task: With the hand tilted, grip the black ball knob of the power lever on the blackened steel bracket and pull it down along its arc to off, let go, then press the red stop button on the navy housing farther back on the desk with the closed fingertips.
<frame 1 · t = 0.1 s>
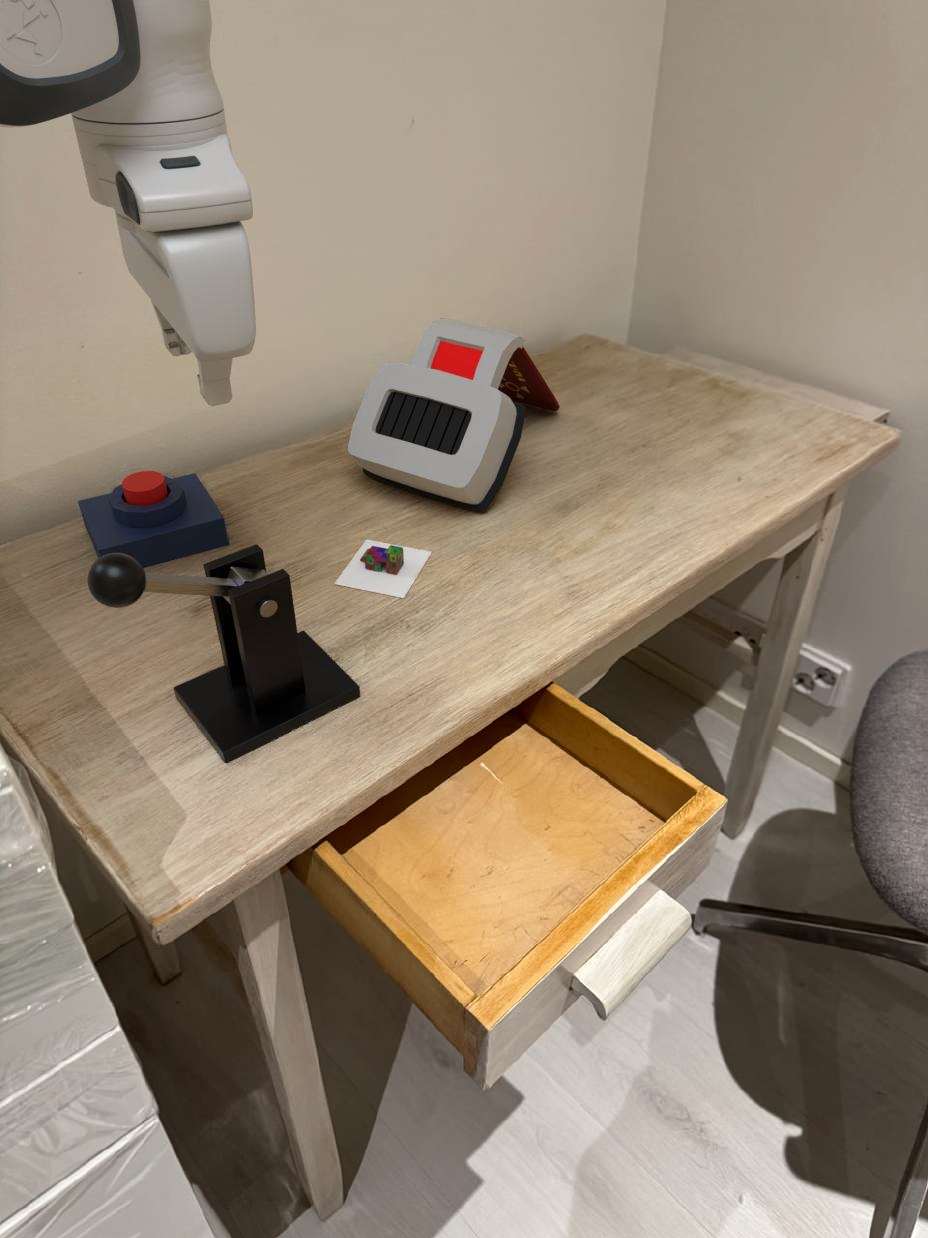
hand: (197, 375, 64), 24 cm above the table, tool pointing down, fingers open, 8 cm apart
power lever: (184, 584, 62), point 13 cm above the table, hinge at 28.0°
switch bracket: (268, 697, 72), on the table
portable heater: (472, 454, 105), on the table
multicoloured block: (384, 569, 87), on the table
stop button: (144, 488, 87), point 6 cm above the table, slide at 0.2 cm
stop box: (156, 535, 91), on the table
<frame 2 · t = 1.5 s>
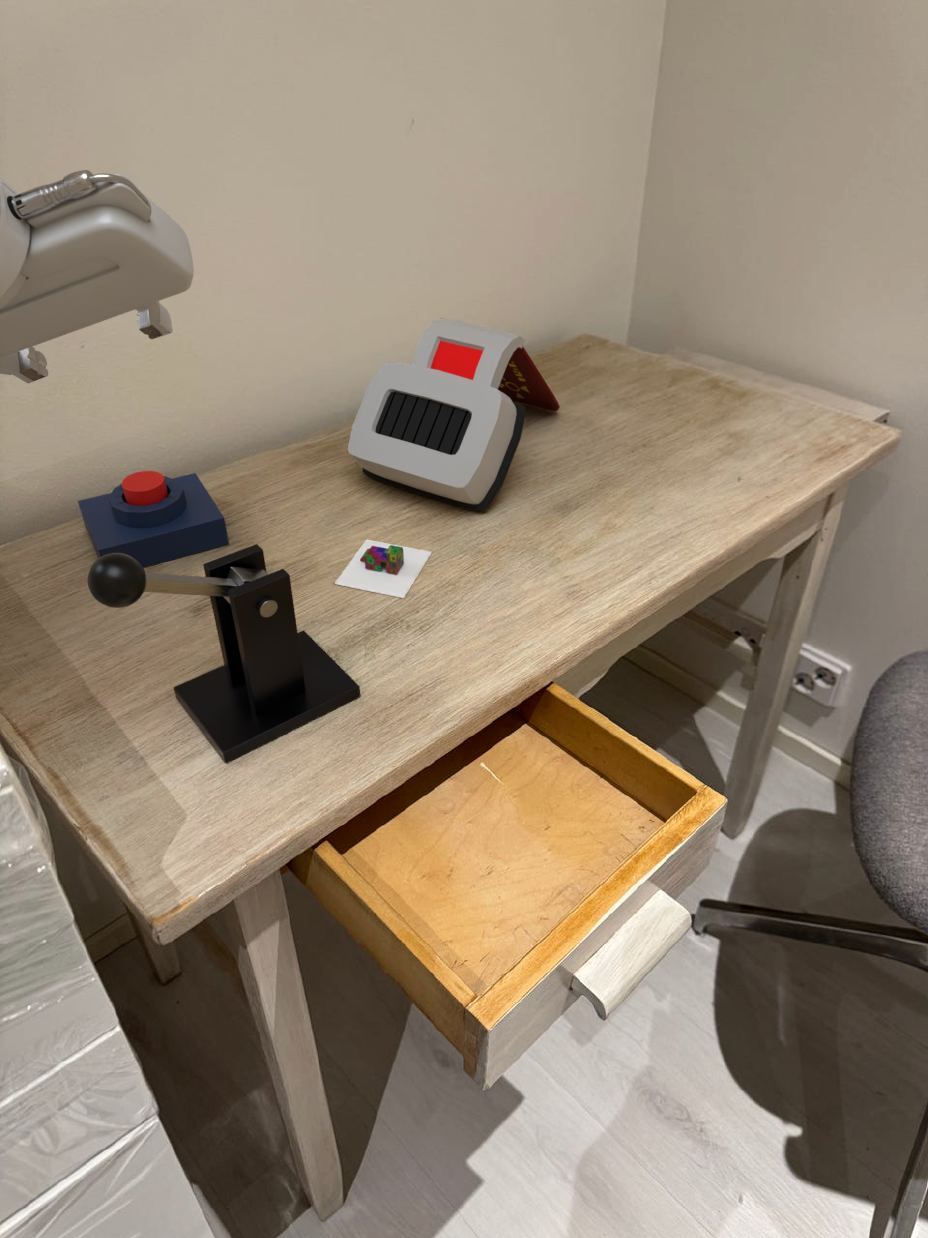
hand: (99, 348, 60), 27 cm above the table, tool tilted 45°, fingers open, 8 cm apart
nothing on the table moved.
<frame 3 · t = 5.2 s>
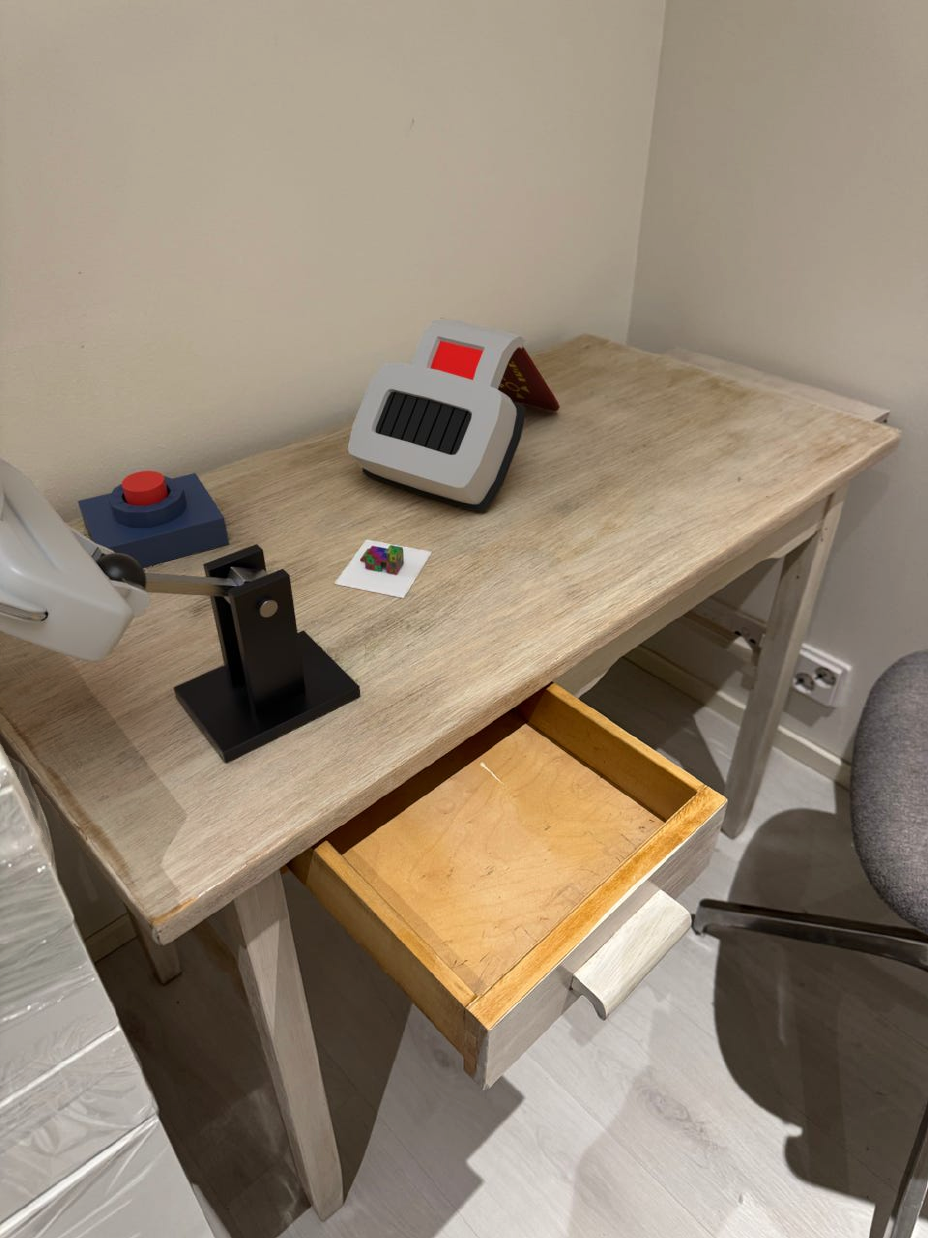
hand: (128, 584, 59), 15 cm above the table, tool tilted 45°, fingers closed on power lever, 3 cm apart
power lever: (184, 584, 62), point 13 cm above the table, hinge at 28.0°, touching gripper
everything else where it was.
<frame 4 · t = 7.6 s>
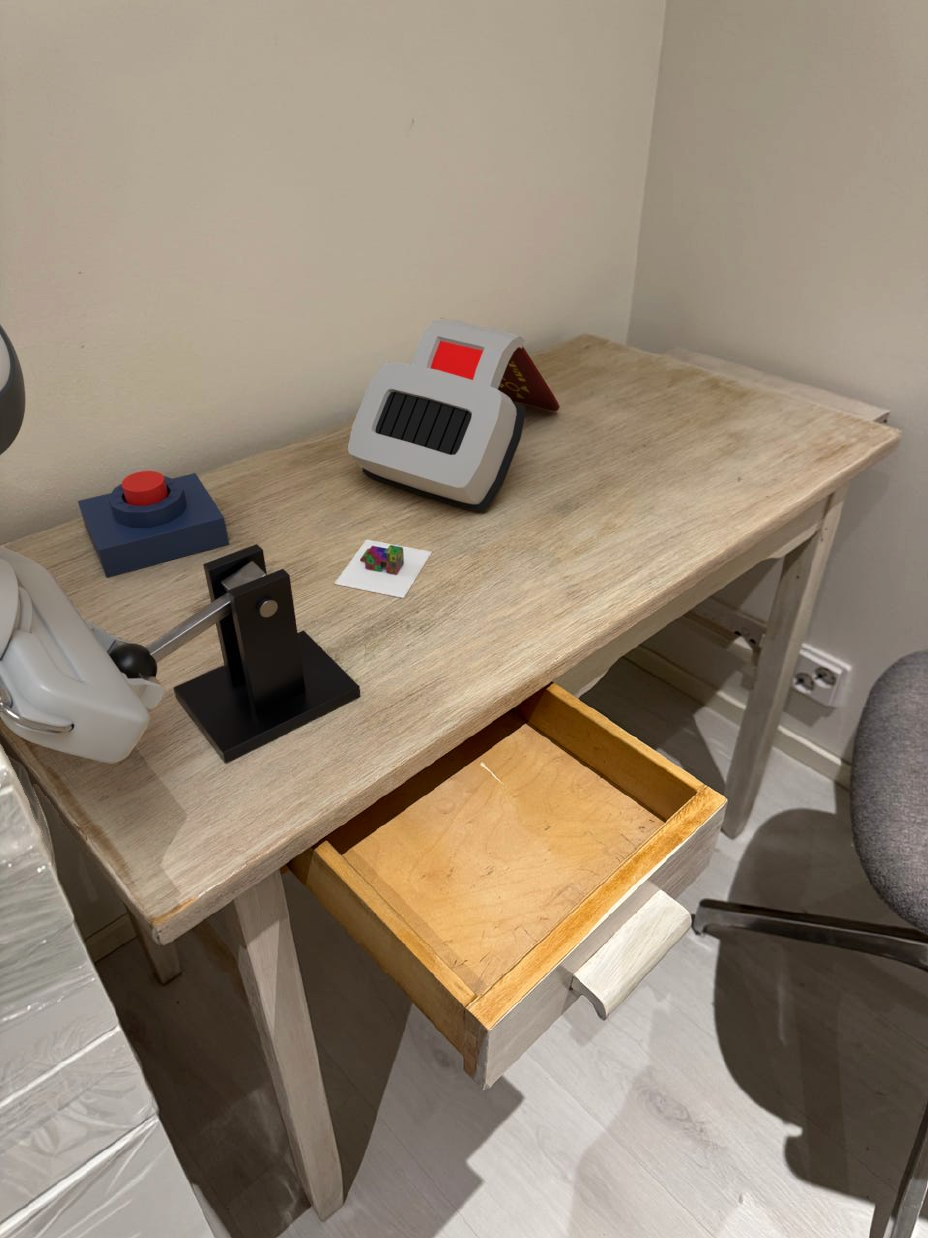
hand: (143, 675, 64), 7 cm above the table, tool tilted 45°, fingers closed on power lever, 3 cm apart
power lever: (188, 629, 64), point 10 cm above the table, hinge at -15.3°, touching gripper
everything else where it was.
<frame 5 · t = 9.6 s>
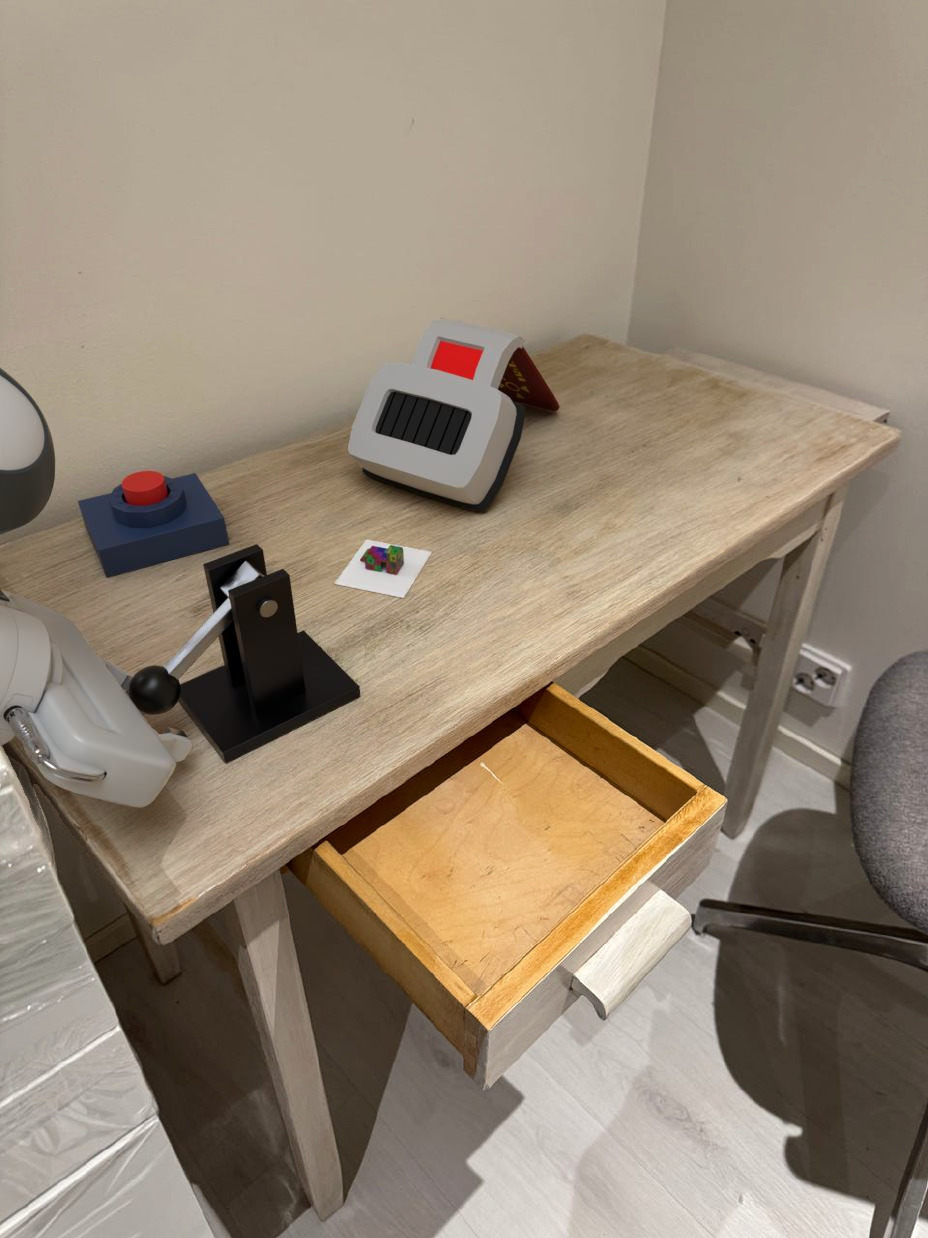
hand: (162, 718, 67), 3 cm above the table, tool tilted 45°, fingers open, 6 cm apart
power lever: (200, 641, 65), point 8 cm above the table, hinge at -32.5°
everything else where it was.
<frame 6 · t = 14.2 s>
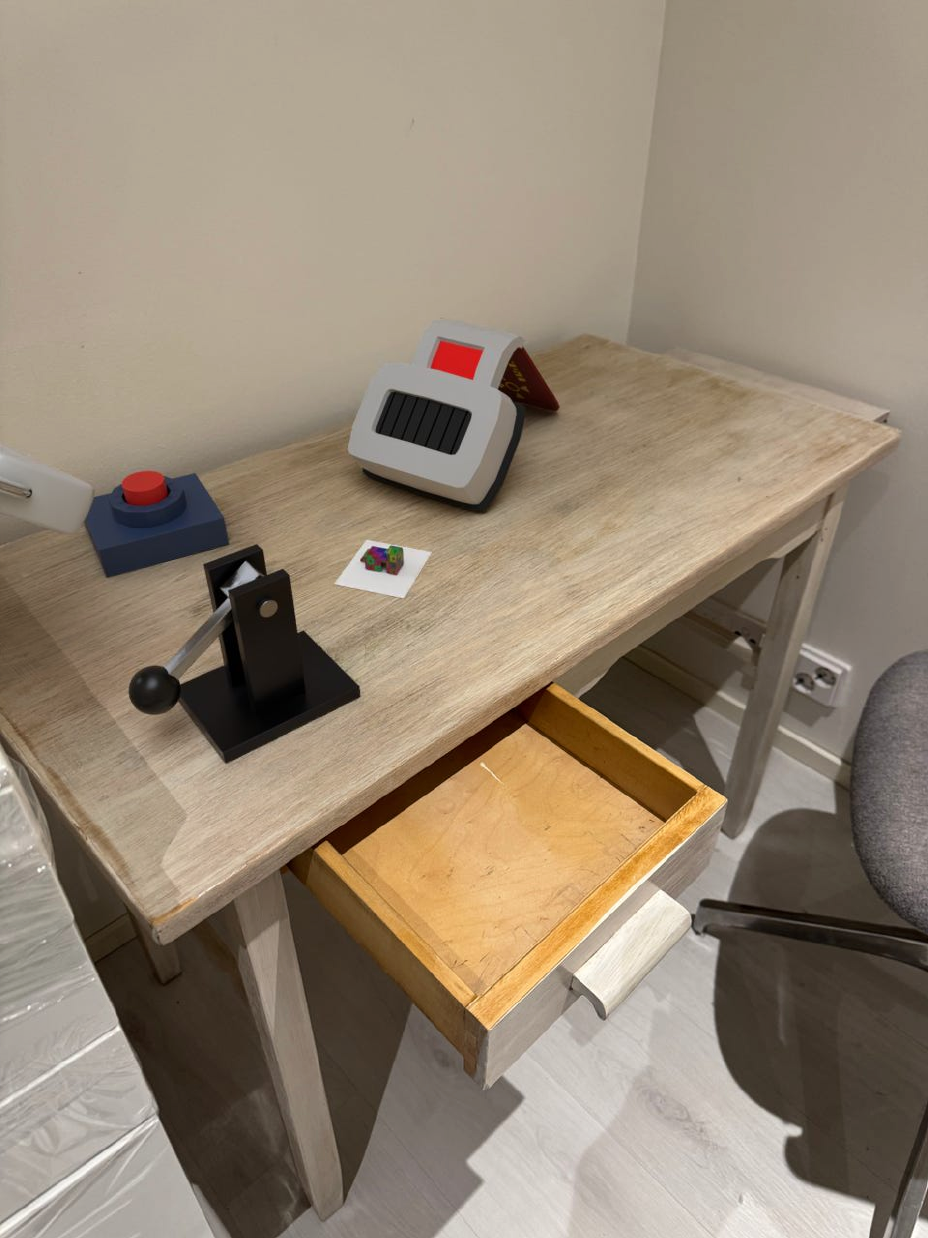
hand: (58, 489, 67), 16 cm above the table, tool tilted 45°, fingers closed
nothing on the table moved.
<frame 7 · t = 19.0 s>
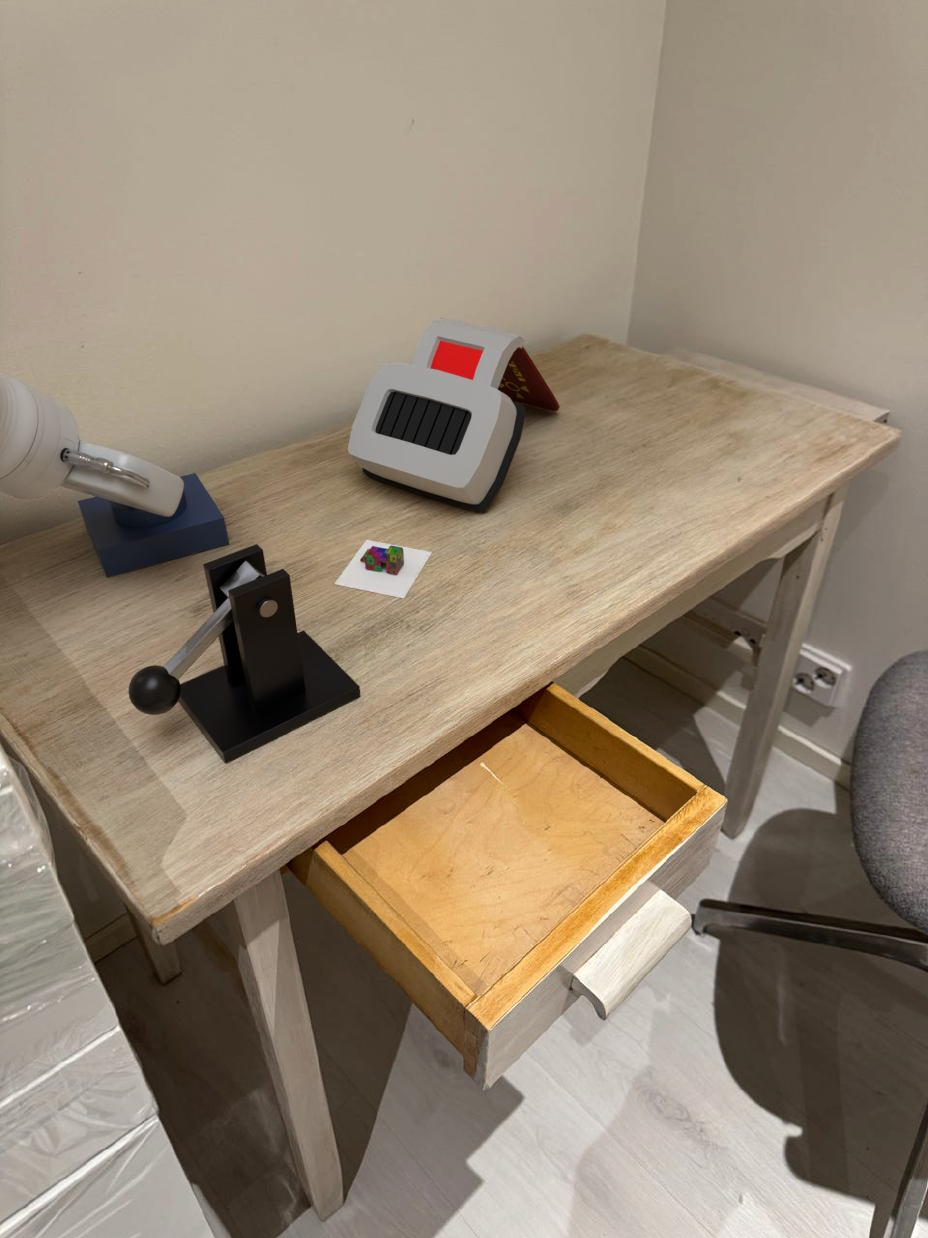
hand: (129, 491, 86), 6 cm above the table, tool tilted 45°, fingers closed, pressing on stop button
stop button: (146, 494, 88), point 5 cm above the table, slide at -0.6 cm, touching gripper
everything else where it was.
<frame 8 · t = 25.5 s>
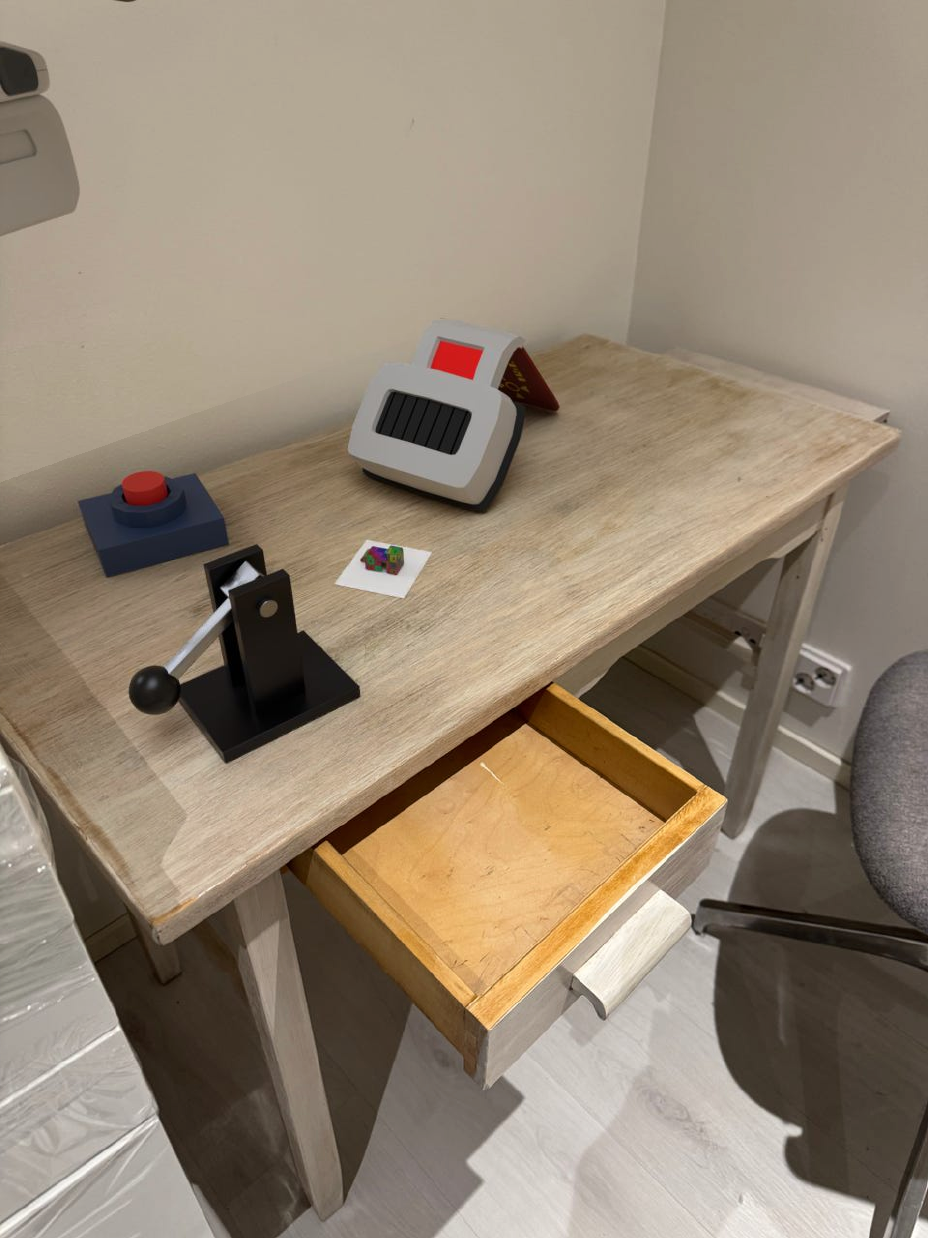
stop button: (145, 488, 87), point 6 cm above the table, slide at 0.1 cm
everything else where it was.
at the end: power lever at -32° (first picture: +28°); stop button pushed in 1.0 cm at the most during the clip, back to where it started at the end; stop button slide at 0.1 cm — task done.
